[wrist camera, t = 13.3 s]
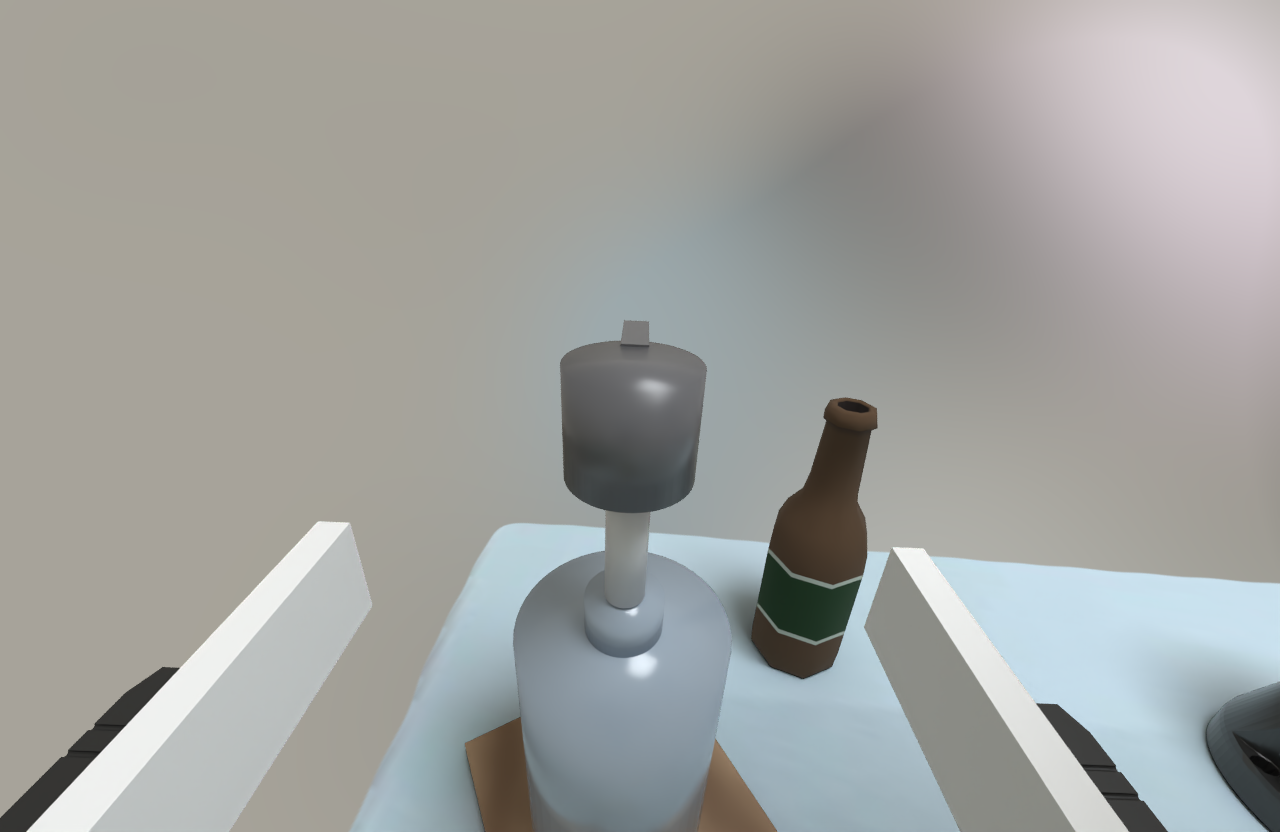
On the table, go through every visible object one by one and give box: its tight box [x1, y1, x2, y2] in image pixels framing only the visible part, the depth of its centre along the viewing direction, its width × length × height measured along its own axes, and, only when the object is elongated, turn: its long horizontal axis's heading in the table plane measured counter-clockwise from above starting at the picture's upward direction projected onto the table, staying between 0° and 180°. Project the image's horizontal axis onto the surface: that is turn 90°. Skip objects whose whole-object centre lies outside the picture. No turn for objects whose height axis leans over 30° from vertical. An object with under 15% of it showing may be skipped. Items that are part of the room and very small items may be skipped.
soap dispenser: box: [513, 551, 732, 832], centre depth 29 cm, size 11×11×18 cm
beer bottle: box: [751, 398, 877, 679], centre depth 40 cm, size 8×8×24 cm
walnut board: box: [465, 717, 777, 832], centre depth 33 cm, size 16×16×1 cm
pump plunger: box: [560, 320, 707, 608], centre depth 23 cm, size 6×8×12 cm
